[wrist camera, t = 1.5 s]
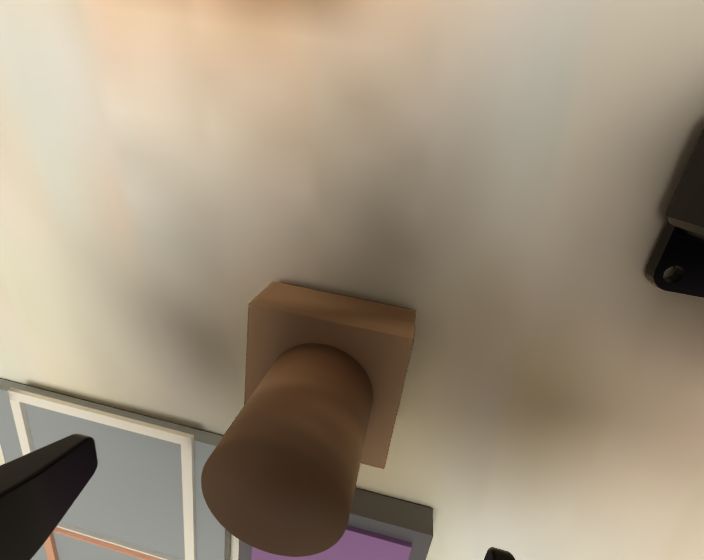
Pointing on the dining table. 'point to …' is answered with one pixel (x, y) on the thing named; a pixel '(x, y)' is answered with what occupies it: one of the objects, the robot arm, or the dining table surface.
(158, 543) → the board
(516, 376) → the dining table surface
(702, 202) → the robot arm
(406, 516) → the ink pad
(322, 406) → the stamp
